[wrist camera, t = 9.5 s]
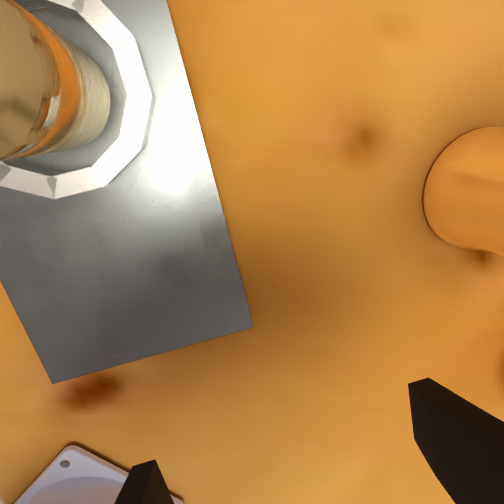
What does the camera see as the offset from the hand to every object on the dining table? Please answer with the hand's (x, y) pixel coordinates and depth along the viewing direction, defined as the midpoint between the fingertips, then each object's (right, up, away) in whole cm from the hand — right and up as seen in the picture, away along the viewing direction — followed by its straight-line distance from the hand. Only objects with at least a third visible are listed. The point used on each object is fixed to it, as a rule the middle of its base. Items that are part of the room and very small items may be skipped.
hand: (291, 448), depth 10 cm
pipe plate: (-8, +9, +6) cm, 13 cm away
